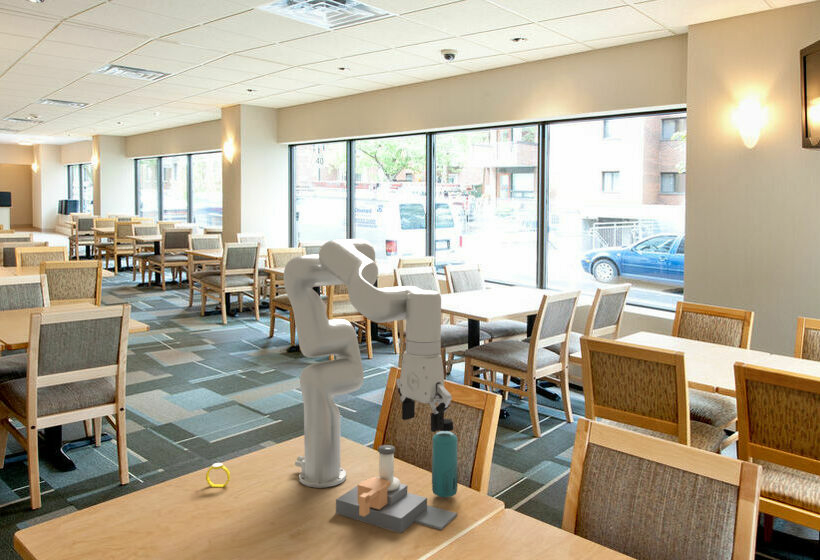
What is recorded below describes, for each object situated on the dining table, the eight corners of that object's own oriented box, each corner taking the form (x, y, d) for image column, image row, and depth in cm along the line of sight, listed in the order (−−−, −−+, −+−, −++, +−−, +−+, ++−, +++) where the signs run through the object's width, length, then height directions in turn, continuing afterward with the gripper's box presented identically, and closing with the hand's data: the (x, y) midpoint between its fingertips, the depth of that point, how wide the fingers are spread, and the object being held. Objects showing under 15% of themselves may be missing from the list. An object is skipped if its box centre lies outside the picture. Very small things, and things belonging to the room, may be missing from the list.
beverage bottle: (455, 504, 156) (457, 425, 154) (429, 501, 158) (430, 423, 155) (459, 493, 163) (460, 417, 160) (433, 490, 164) (434, 415, 162)
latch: (343, 512, 143) (343, 491, 143) (371, 494, 153) (371, 474, 152) (365, 519, 140) (365, 497, 140) (392, 500, 150) (392, 479, 149)
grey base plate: (336, 513, 151) (336, 491, 151) (364, 494, 161) (364, 473, 161) (400, 533, 142) (401, 509, 142) (426, 511, 152) (427, 489, 152)
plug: (367, 497, 152) (367, 449, 151) (382, 487, 157) (382, 441, 156) (390, 503, 149) (390, 455, 147) (404, 493, 154) (405, 446, 153)
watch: (205, 489, 164) (203, 467, 163) (209, 485, 167) (207, 463, 166) (228, 488, 164) (226, 466, 163) (232, 483, 167) (229, 461, 166)
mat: (410, 521, 148) (410, 518, 148) (427, 507, 155) (427, 505, 155) (441, 530, 144) (441, 527, 144) (456, 515, 151) (456, 513, 151)
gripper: (385, 343, 142) (384, 417, 144) (436, 357, 128) (435, 439, 130) (411, 339, 146) (410, 411, 148) (463, 352, 133) (462, 431, 135)
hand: (422, 424), depth 139 cm, fingers open, 9 cm apart
